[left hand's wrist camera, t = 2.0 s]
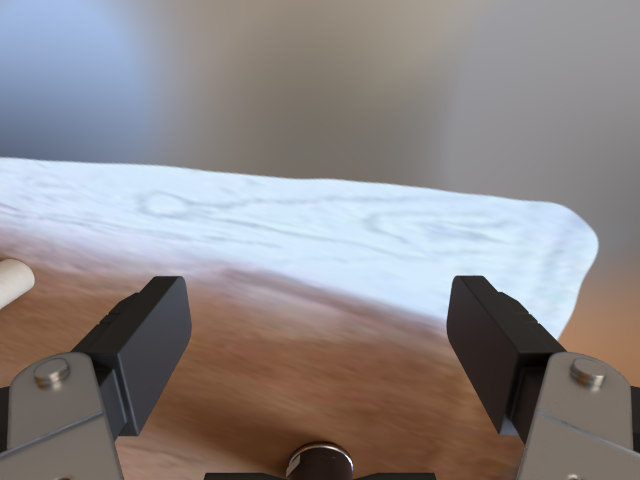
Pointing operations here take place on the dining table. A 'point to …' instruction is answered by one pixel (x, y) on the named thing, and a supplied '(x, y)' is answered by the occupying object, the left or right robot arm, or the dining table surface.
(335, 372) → the dining table surface
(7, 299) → the white cylinder
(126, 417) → the left robot arm
